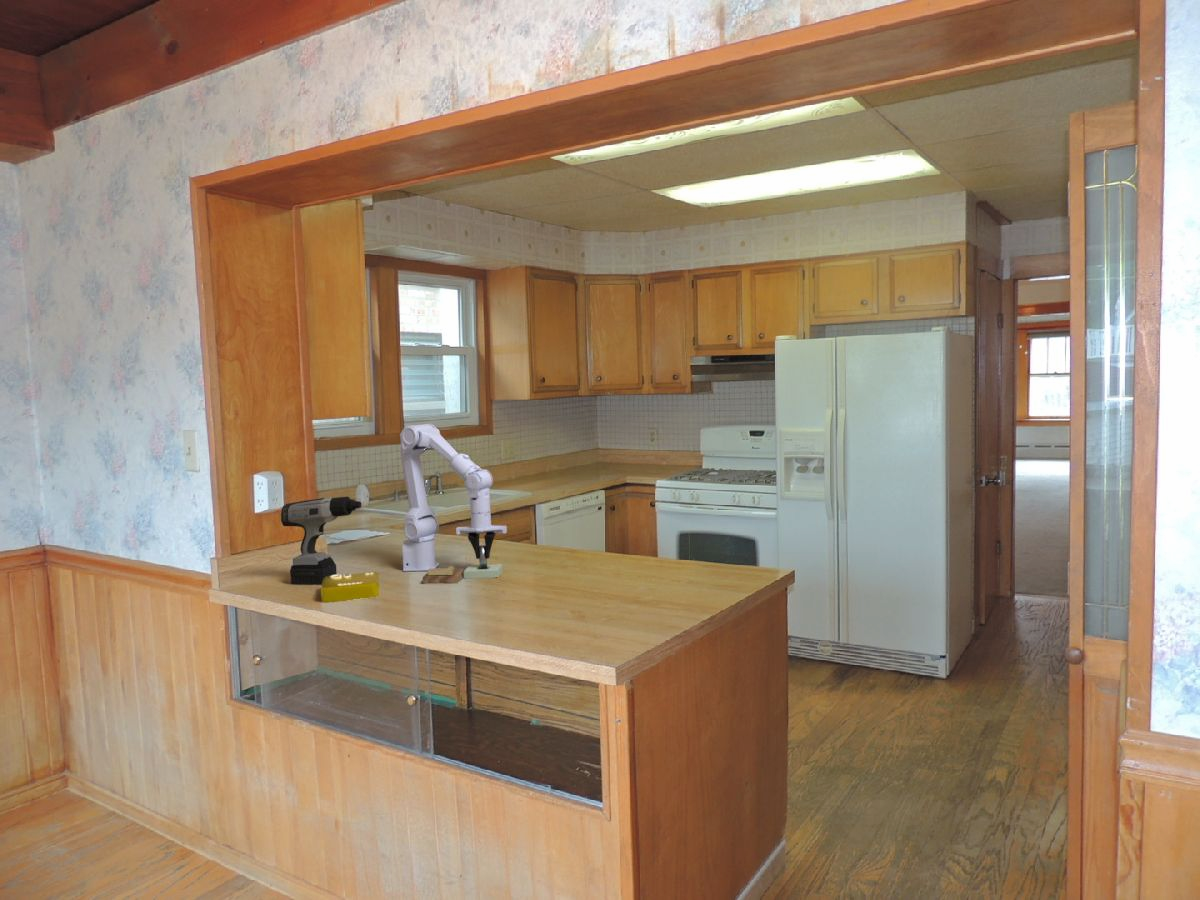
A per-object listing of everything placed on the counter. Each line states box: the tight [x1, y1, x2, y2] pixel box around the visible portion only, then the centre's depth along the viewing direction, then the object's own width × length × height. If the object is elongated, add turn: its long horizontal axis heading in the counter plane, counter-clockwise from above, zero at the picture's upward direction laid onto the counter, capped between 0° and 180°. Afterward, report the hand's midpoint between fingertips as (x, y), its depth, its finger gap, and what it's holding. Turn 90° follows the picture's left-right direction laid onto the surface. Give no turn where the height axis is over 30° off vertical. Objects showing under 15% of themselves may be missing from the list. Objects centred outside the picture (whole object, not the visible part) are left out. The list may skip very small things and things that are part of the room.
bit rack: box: [463, 563, 504, 579], centre depth 251 cm, size 10×8×2 cm
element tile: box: [320, 571, 381, 604], centre depth 235 cm, size 15×15×5 cm
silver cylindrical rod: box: [478, 544, 488, 569], centre depth 250 cm, size 2×2×7 cm
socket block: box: [422, 568, 466, 584], centre depth 247 cm, size 10×9×2 cm
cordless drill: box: [280, 496, 362, 585], centre depth 249 cm, size 8×24×25 cm, turn 78°
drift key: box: [427, 565, 455, 575], centre depth 243 cm, size 7×2×2 cm, turn 87°
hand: (483, 558), depth 251 cm, fingers closed on silver cylindrical rod, 2 cm apart
